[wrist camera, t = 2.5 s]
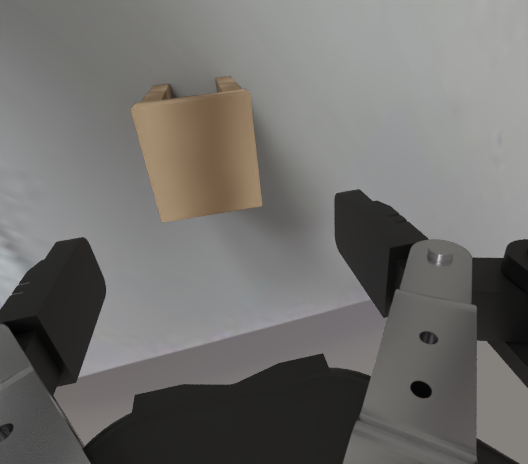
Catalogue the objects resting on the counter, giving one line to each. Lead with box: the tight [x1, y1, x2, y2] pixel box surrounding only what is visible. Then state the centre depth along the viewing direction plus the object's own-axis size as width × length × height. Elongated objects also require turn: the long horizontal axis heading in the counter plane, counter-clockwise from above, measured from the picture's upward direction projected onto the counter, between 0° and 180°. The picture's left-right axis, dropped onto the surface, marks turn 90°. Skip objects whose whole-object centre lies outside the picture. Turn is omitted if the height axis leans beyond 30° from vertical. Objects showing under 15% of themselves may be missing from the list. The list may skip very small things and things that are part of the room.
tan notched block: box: [130, 76, 262, 223], centre depth 24 cm, size 6×6×11 cm
